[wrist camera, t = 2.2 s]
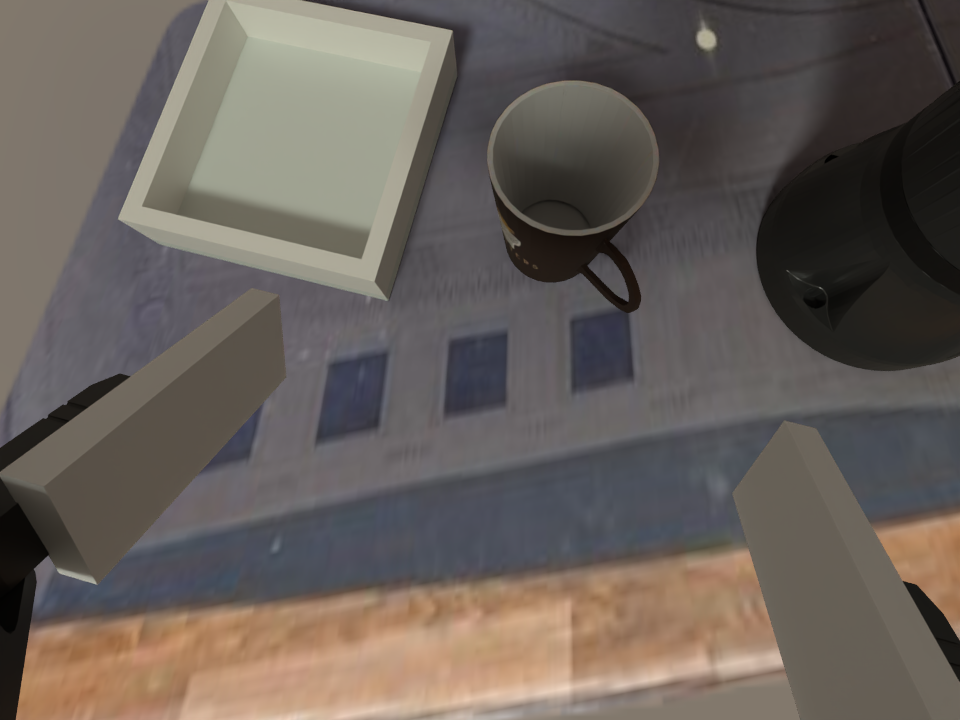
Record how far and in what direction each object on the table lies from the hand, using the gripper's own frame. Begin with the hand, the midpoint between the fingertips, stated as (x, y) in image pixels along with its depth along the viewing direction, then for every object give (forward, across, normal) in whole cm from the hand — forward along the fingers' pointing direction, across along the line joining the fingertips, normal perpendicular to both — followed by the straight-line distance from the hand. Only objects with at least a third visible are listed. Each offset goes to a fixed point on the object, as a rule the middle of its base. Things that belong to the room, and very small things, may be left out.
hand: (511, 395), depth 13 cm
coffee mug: (+22, +1, -5) cm, 23 cm away
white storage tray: (+25, -18, -3) cm, 31 cm away
